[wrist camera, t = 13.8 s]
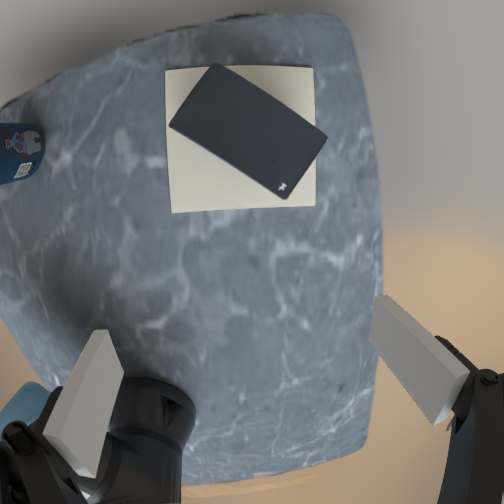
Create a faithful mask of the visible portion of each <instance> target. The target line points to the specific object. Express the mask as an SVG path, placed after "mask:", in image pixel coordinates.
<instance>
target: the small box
mask: <svg viewBox="0 0 504 504" xmlns="http://www.w3.org/2000/svg"><path fill="white" fill-rule="evenodd" d="M168 126H169V127H170V128H171V129H173V130H175V131H176V132H178V133H180V134H181V135H183V136H185V137H186V138H188V139H189V140H191V141H193V142H194V143H196V144H198V145H199V146H201V147H202V148H204V149H206V150H207V151H209V152H210V153H212V154H213V155H215V156H217V157H218V158H220V159H221V160H223V161H225V162H226V163H228V164H229V165H231V166H232V167H234V168H235V169H237V170H238V171H240V172H242V173H243V174H245V175H246V176H248V177H249V178H251V179H252V180H254V181H255V182H257V183H258V184H260V185H261V186H263V187H264V188H266V189H267V190H269V191H270V192H272V193H273V194H275V195H276V196H278V197H279V198H280V199H282V200H287V199H288V198H289V196H290V195H291V193H292V192H293V190H294V189H295V187H296V186H297V185H298V183H299V182H300V180H301V179H302V177H303V176H304V174H305V173H306V171H307V170H308V169H309V167H310V166H311V164H312V163H313V162H314V160H315V159H316V157H317V156H318V154H319V153H320V151H321V150H322V149H323V147H324V146H325V144H326V143H327V141H328V140H329V137H328V136H327V135H325V134H324V133H323V132H321V131H320V130H319V129H318V128H316V127H315V126H314V125H312V124H311V123H310V122H308V121H307V120H306V119H304V118H303V117H302V116H300V115H299V114H297V113H296V112H295V111H293V110H292V109H290V108H289V107H288V106H286V105H285V104H283V103H282V102H280V101H279V100H277V99H276V98H274V97H273V96H272V95H270V94H269V93H267V92H266V91H264V90H262V89H261V88H259V87H258V86H256V85H255V84H253V83H252V82H250V81H248V80H247V79H245V78H244V77H242V76H240V75H239V74H237V73H235V72H234V71H232V70H231V69H229V68H227V67H225V66H224V65H222V64H220V63H218V62H214V63H213V64H212V65H211V66H210V67H209V68H208V69H207V71H206V72H205V73H204V74H203V76H202V77H201V78H200V80H199V81H198V82H197V84H196V85H195V86H194V88H193V89H192V91H191V92H190V93H189V95H188V96H187V97H186V99H185V100H184V102H183V103H182V105H181V106H180V108H179V109H178V111H177V112H176V113H175V115H174V116H173V118H172V119H171V121H170V123H169V125H168Z"/></svg>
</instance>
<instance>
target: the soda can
mask: <svg viewBox="0 0 504 504" xmlns="http://www.w3.org/2000/svg"><path fill="white" fill-rule="evenodd" d="M44 148H45V147H44V140H43V137H42V135H41V133H40V131H39V130H38V129H37V128H36V127H35V126H33V125H31V124H18V123H0V185H2V184H6V183H10V182H14V181H18V180H22V179H26V178H28V177H30V176H31V175H32V174H34V172H35V171H36V170H37V169H38V167H39V165H40V163H41V161H42V159H43V156H44Z"/></svg>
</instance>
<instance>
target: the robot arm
mask: <svg viewBox="0 0 504 504" xmlns="http://www.w3.org/2000/svg"><path fill="white" fill-rule="evenodd" d="M368 342H369V343H370V344H371V345H372V347H373V348H374V349H375V350H376V352H377V353H378V354H379V355H380V357H381V358H382V359H383V361H384V362H385V363H386V364H387V366H388V367H389V368H390V370H391V371H392V372H393V374H394V375H395V376H396V377H397V379H398V380H399V381H400V383H401V384H402V385H403V387H404V388H405V389H406V390H407V392H408V393H409V395H410V396H411V397H412V399H413V400H414V401H415V402H416V404H417V405H418V406H419V408H420V409H421V411H422V412H423V413H424V415H425V416H426V417H427V419H428V420H429V421H430V423H431V424H432V425H433V426H434V425H436V424H438V423H439V422H441V421H443V420H445V419H446V418H447V416H448V415H449V413H450V411H451V410H452V411H453V412H454V413H455V415H454V417H453V418H452V420H451V422H450V424H449V425H448V427H447V429H446V431H448V430H449V429H450V427H451V426H452V429H451V437H450V445H449V451H448V457H447V463H446V468H445V474H444V478H443V482H442V486H441V491H440V495H439V498H438V502H437V504H501V501H502V494H503V493H504V373H502V374H497V373H496V372H494V371H493V370H490V369H482V370H479V369H478V368H476V367H475V366H474V365H473V364H472V363H471V362H470V361H469V360H468V359H467V358H466V357H465V356H464V355H463V354H462V353H459V351H458V350H457V349H456V348H454V346H453V345H452V344H451V343H450V342H449V341H448V340H446V339H444V338H442V337H440V336H438V335H437V336H433V335H432V334H431V333H430V332H428V331H427V330H426V329H425V328H424V327H423V326H422V325H421V324H420V323H419V322H418V321H416V320H415V319H414V318H413V317H412V316H411V315H410V314H409V313H407V312H406V311H405V310H404V309H403V308H402V307H401V306H400V305H398V304H397V303H396V302H395V301H394V300H393V299H392V298H390V297H389V296H388V295H383V296H378V297H375V299H374V307H373V314H372V321H371V328H370V334H369V340H368ZM123 374H124V371H123V369H122V367H121V364H120V362H119V359H118V356H117V354H116V351H115V349H114V346H113V343H112V340H111V338H110V335H109V332H108V329H106V330H94V331H93V333H92V335H91V336H90V338H89V340H88V342H87V344H86V345H85V347H84V349H83V351H82V353H81V355H80V356H79V358H78V360H77V362H76V364H75V366H74V368H73V370H72V372H71V374H70V376H69V377H68V379H67V381H66V383H65V385H64V387H61V386H58V387H57V388H56V389H55V390H54V391H53V392H52V393H51V392H49V391H48V390H47V389H45V388H44V387H43V386H41V385H40V384H38V383H36V382H27V383H25V384H24V385H23V386H22V387H21V388H20V389H19V390H18V391H17V392H16V394H15V395H14V396H13V397H12V399H11V400H10V401H9V402H8V403H7V404H6V406H5V407H4V408H3V409H2V411H1V412H0V504H181V475H182V452H183V448H184V446H185V444H186V443H187V441H188V439H189V436H190V434H191V432H192V430H193V428H194V425H195V414H196V412H195V407H194V405H193V403H192V402H191V400H190V399H189V398H188V397H187V396H186V395H185V394H184V393H182V392H181V391H180V390H178V389H176V388H175V387H173V386H171V385H169V384H166V383H163V382H161V381H157V380H153V379H147V378H129V379H124V380H122V378H123ZM107 429H109V432H107Z"/></svg>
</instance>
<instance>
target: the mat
mask: <svg viewBox="0 0 504 504" xmlns="http://www.w3.org/2000/svg"><path fill="white" fill-rule="evenodd" d="M225 67H227V68H229V69H231V70H232V71H234V72H235V73H237V74H239V75H240V76H242V77H244V78H245V79H247V80H248V81H250V82H252V83H253V84H255V85H256V86H258V87H259V88H261V89H262V90H264V91H266V92H267V93H269V94H270V95H272V96H273V97H274V98H276V99H277V100H279V101H280V102H282V103H283V104H285V105H286V106H288V107H289V108H290V109H292V110H293V111H295V112H296V113H297V114H299V115H300V116H302V117H303V118H304V119H306V120H307V121H308V122H310V123H311V124H312V125H314V126H315V103H314V80H313V68H303V67H289V66H263V65H237V66H225ZM208 68H209V67H197V68H186V69H176V70H168V71H165V96H166V135H167V155H168V172H169V186H170V198H171V210H172V213H180V212H193V211H208V210H225V209H243V208H265V207H291V206H315V186H316V159H315V160H314V162H313V163H312V164H311V166H310V167H309V169H308V170H307V171H306V173H305V174H304V176H303V177H302V179H301V180H300V182H299V183H298V185H297V186H296V187H295V189H294V190H293V192H292V193H291V195H290V196H289V198H288V199H287V200H282V199H280V198H279V197H278V196H276V195H275V194H273V193H272V192H270V191H269V190H267V189H266V188H264V187H263V186H261V185H260V184H258V183H257V182H255V181H254V180H252V179H251V178H249V177H248V176H246V175H245V174H243V173H242V172H240V171H238V170H237V169H235V168H234V167H232V166H231V165H229V164H228V163H226V162H225V161H223V160H221V159H220V158H218V157H217V156H215V155H213V154H212V153H210V152H209V151H207V150H206V149H204V148H202V147H201V146H199V145H198V144H196V143H194V142H193V141H191V140H189V139H188V138H186V137H185V136H183V135H181V134H180V133H178V132H176V131H175V130H173V129H171V128H170V127H169V126H168V125H169V123H170V121H171V119H172V118H173V116H174V115H175V113H176V112H177V111H178V109H179V108H180V106H181V105H182V103H183V102H184V100H185V99H186V97H187V96H188V95H189V93H190V92H191V91H192V89H193V88H194V86H195V85H196V84H197V82H198V81H199V80H200V78H201V77H202V76H203V74H204V73H205V72H206V71H207V69H208Z"/></svg>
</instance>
